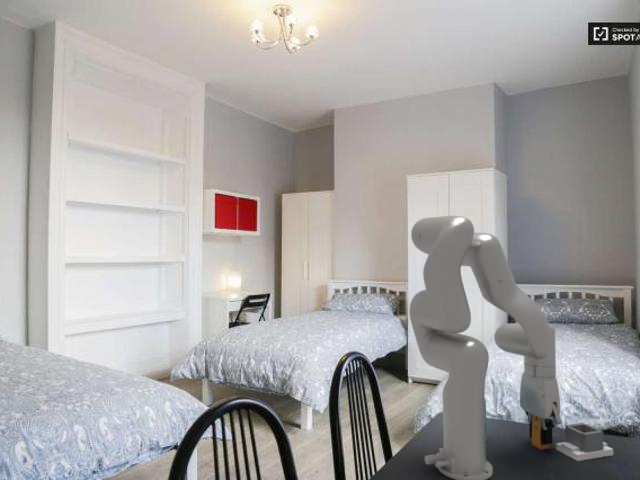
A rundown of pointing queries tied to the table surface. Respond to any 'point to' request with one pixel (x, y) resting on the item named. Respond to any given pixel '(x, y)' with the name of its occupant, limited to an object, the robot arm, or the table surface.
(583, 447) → the grey slotted holder
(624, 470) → the table surface
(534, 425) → the supplement box
